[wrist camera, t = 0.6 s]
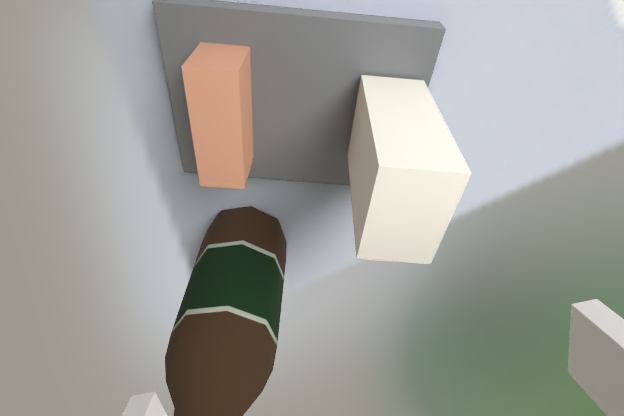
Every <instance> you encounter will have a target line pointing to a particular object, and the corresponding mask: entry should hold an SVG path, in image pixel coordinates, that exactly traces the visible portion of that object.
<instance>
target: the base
mask: <svg viewBox="0 0 624 416" xmlns="http://www.w3.org/2000/svg"><path fill="white" fill-rule="evenodd" d="M152 4H153V9H154V14H155V20H156V25H157V30H158V36H159V41H160V46H161V52H162V57H163V62H164V68H165V73H166V78H167V84H168V89H169V95H170V100H171V105H172V111H173V116H174V121H175V127H176V132H177V137H178V143H179V148H180V153H181V159H182V164H183V169H184V172H188V173H198V170H197V164H196V157H195V151H194V145H193V138H192V132H191V125H190V119H189V113H188V106H187V100H186V93H185V87H184V81H183V74H182V68H181V66H182V65H183V64H184V63H185V61H186V60H187V59H188V57H189V56H190V55H191V54H192V52H193V51H194V50H195V49H196V47H197V46H198V45H199V43H200V42H204V43H215V44H226V45H237V46H248V47H250V63H251V95H252V127H253V160H252V164H251V168H250V172H249V175H248V177H251V178H264V179H277V180H289V181H302V182H315V183H327V184H340V185H350V178H349V166H348V149H349V143H350V138H351V132H352V126H353V120H354V114H355V108H356V102H357V97H358V91H359V85H360V79H361V75H369V76H380V77H391V78H402V79H414V80H424V82H425V84H426V86H427V88H428V86H429V83H430V80H431V76H432V73H433V70H434V66H435V63H436V60H437V56H438V53H439V50H440V46H441V43H442V40H443V36H444V33H445V30H446V29H445V28H444V27H443V25H442V24H441V23H440V22H435V21H425V20H414V19H403V18H393V17H382V16H372V15H361V14H351V13H340V12H330V11H319V10H309V9H298V8H288V7H277V6H266V5H256V4H245V3H235V2H224V1H214V0H153V1H152Z"/></svg>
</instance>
